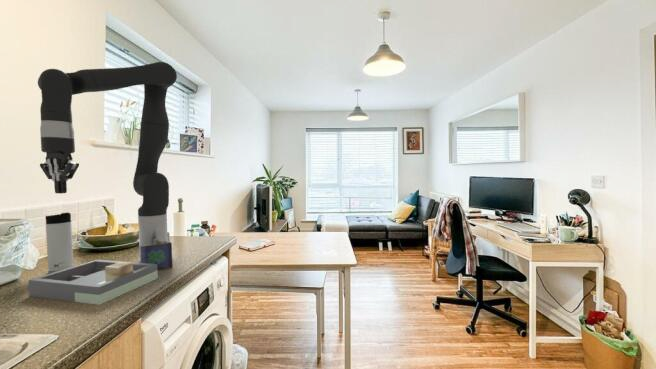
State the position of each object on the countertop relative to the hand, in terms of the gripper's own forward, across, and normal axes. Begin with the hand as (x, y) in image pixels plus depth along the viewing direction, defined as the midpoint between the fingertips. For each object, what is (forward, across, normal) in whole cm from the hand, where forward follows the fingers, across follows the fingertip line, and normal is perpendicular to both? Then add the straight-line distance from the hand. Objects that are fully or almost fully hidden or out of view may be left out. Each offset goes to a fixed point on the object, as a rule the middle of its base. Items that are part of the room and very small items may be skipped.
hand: (60, 193), depth 88 cm
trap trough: (+27, -17, +3) cm, 32 cm away
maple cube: (+24, -25, +3) cm, 35 cm away
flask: (+27, -22, -13) cm, 37 cm away
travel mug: (+27, +9, -5) cm, 29 cm away
